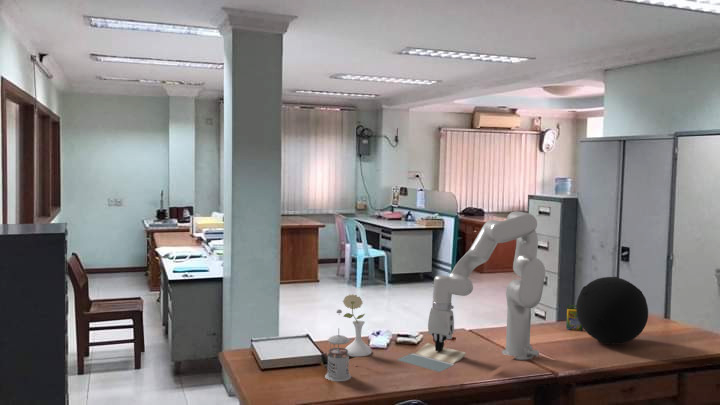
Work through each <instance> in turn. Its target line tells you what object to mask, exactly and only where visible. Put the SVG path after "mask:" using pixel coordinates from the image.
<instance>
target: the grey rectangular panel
mask: <svg viewBox="0 0 720 405" xmlns="http://www.w3.org/2000/svg"><path fill="white" fill-rule="evenodd" d="M396 361H398V362H402V363H405V364H409V365H414V366H415V367H416V366H417V367H420V368H424V369H427V370H430V371H431V370H432V371H434V372H438V373H441V372H442V371H445V370H446V369H449V368H451V367H453V366H455V363H453V364H451V363H448V362H444V361H440V360H436V359H432V358H429V357H425V356H421V355H417V354H414V353H409V354H408V355H404V356H401V357H399V358H397V359H396Z"/></svg>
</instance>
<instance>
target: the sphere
mask: <svg viewBox="0 0 720 405" xmlns="http://www.w3.org/2000/svg"><path fill="white" fill-rule="evenodd" d="M575 308H576V312H577V317H578V320H579V322H580V324H581V326H582V327H583V330H584V331H585V332H586V334H588V335H589V336H590V337H591V338H593V339H595V340H596V341H598V342H600V343H602V344H604V345H605V344H606V345H620V344H621V345H622V344H625V343H628V342H631V341H632V340H634V339H636V338H637V337H639V335H641V334H642V332H643V331H644V329H645V327H646V326H647V323H648V318H649V308H648V303H647V299H646V296H644V293H643V291H642V290H640V288H638V287H637V286H636V285H634V284H633V283H631V282H630V281H628V280H625V279H624V278H620V277H618V276H605V277H600V278H599V277H598V278H596V279H594V280H592V281H590V282H589V283H587V284H586V285H584V286H583V287H582V288H581V290H580V292H579V295H578V297H577V301H576V306H575Z"/></svg>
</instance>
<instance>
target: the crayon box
mask: <svg viewBox="0 0 720 405" xmlns="http://www.w3.org/2000/svg"><path fill="white" fill-rule="evenodd" d="M566 307H567V308H566V327H565V328H566V330H568V331H569V330H570V331H571V330H572V331H583V330H584V329H583V327H582V326H581V324H580V322H579V320H578V317H577V312H576V305H573V304H567V306H566Z"/></svg>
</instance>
